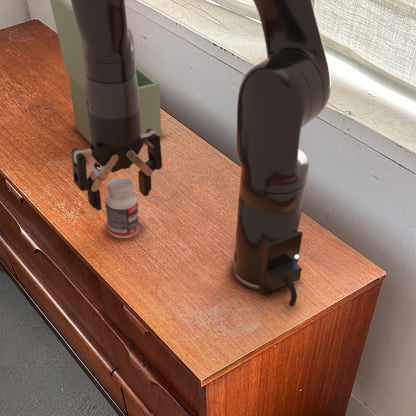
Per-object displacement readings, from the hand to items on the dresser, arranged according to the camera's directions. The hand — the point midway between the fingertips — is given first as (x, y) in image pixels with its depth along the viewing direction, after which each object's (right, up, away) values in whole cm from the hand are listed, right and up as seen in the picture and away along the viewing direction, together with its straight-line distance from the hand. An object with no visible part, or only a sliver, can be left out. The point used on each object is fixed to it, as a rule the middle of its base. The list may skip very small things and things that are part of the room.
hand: (121, 200), depth 103 cm
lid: (-10, +30, +9) cm, 33 cm away
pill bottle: (0, -4, +4) cm, 6 cm away
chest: (-4, +21, +25) cm, 33 cm away
